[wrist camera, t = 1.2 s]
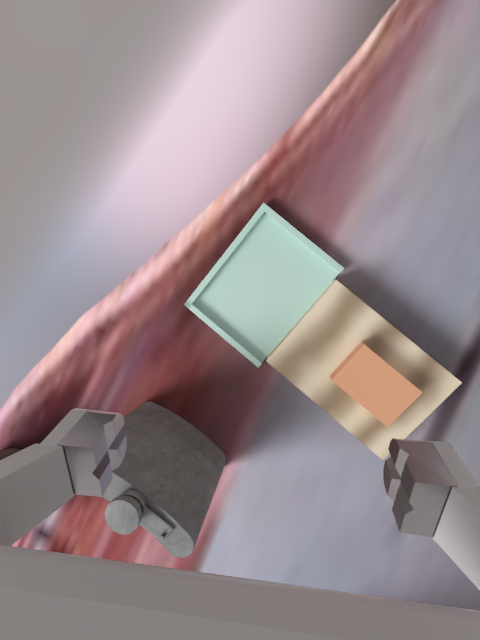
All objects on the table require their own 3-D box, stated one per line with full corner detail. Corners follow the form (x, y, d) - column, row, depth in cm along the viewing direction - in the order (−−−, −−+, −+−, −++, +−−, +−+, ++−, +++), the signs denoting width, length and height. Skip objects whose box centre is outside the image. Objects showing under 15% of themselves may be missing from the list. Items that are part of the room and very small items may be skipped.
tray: (342, 269, 47) (344, 268, 45) (259, 365, 50) (258, 367, 48) (264, 205, 47) (263, 202, 46) (187, 304, 50) (183, 304, 49)
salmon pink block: (416, 387, 43) (422, 392, 41) (383, 421, 44) (387, 427, 42) (361, 341, 43) (364, 344, 41) (329, 375, 44) (331, 380, 42)
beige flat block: (447, 374, 46) (462, 382, 42) (375, 445, 48) (382, 460, 44) (332, 280, 47) (336, 279, 43) (268, 355, 49) (265, 361, 45)
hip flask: (136, 412, 54) (46, 487, 34) (149, 392, 53) (64, 456, 33) (219, 472, 52) (175, 584, 33) (233, 452, 52) (197, 554, 32)
